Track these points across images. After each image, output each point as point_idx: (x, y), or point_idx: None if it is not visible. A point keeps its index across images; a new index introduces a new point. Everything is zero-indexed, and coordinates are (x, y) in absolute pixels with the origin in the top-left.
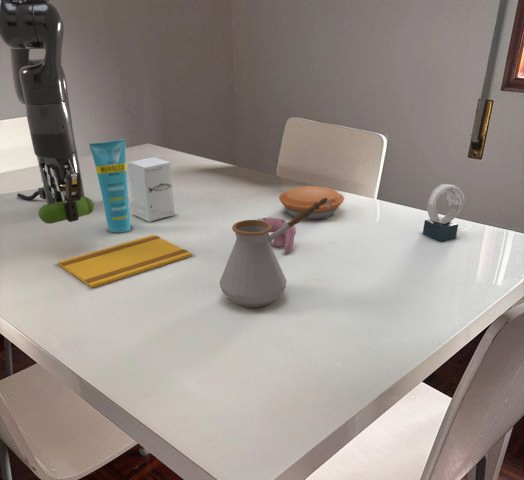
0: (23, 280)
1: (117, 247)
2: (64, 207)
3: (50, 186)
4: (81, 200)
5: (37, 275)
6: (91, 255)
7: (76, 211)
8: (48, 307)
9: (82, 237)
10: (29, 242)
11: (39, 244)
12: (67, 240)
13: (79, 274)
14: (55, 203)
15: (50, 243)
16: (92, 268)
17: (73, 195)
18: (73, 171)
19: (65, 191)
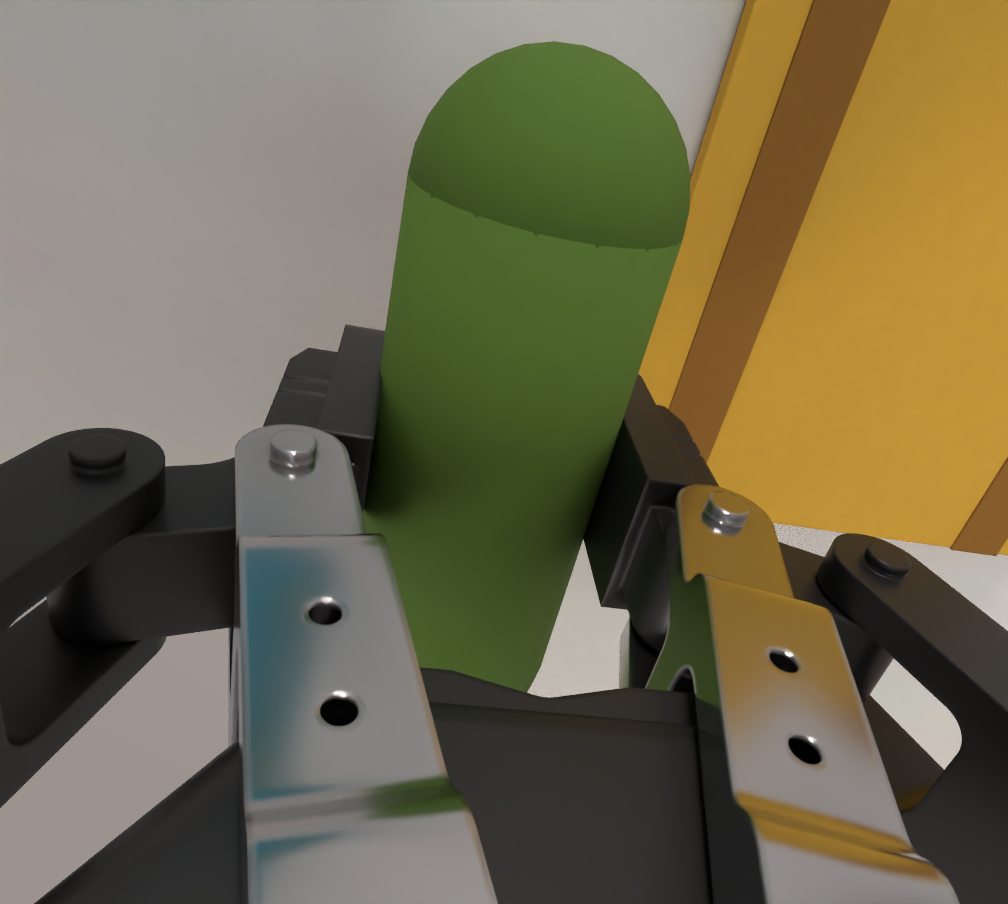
0: (602, 678)
1: (818, 37)
2: (595, 569)
3: (126, 660)
4: (621, 318)
5: (613, 618)
6: (732, 305)
7: (696, 455)
8: (930, 731)
9: (228, 6)
10: (22, 386)
11: (125, 364)
12: (201, 161)
13: (869, 522)
14: (470, 629)
15: (166, 299)
16: (889, 431)
17: (873, 669)
18: (946, 884)
19: (353, 480)
